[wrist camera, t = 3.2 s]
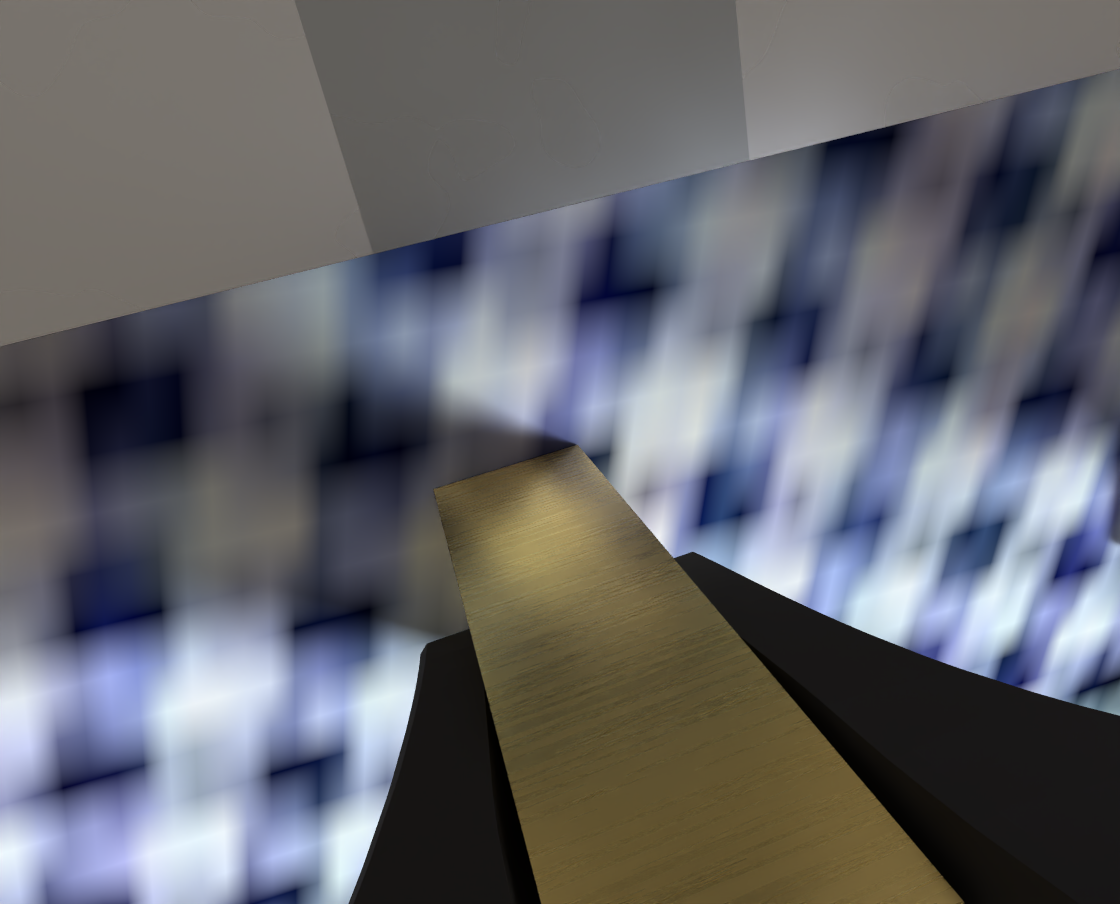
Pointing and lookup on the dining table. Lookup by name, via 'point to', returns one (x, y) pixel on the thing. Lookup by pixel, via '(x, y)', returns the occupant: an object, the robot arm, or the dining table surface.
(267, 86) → the grey slotted plate
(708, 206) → the dining table surface
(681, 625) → the wood grain block
